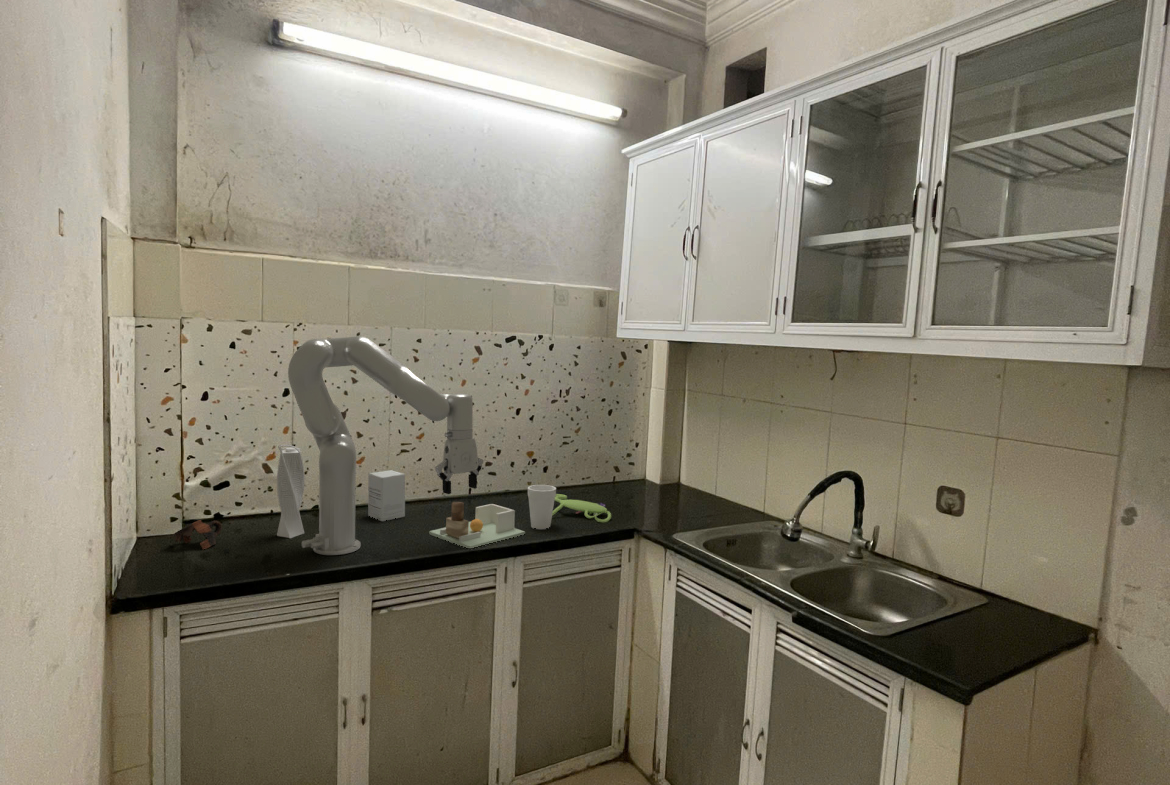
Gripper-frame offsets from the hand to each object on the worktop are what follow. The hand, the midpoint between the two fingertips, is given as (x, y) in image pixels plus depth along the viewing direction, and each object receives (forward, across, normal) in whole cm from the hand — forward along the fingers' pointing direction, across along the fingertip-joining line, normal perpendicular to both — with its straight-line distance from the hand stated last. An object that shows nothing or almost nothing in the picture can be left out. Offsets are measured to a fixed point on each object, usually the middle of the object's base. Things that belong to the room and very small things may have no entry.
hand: (460, 490), depth 192 cm
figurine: (+17, +48, -3) cm, 51 cm away
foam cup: (+16, +28, -6) cm, 33 cm away
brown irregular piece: (+14, -57, +45) cm, 74 cm away
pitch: (+15, +7, 0) cm, 17 cm away
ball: (+12, +7, 0) cm, 14 cm away
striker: (+14, -1, 0) cm, 14 cm away
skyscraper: (+14, -35, +38) cm, 53 cm away
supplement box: (+15, -3, +36) cm, 40 cm away
